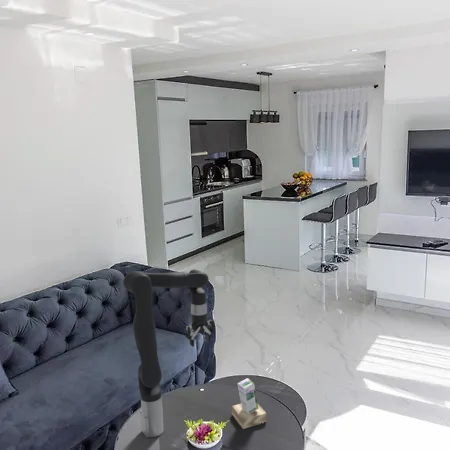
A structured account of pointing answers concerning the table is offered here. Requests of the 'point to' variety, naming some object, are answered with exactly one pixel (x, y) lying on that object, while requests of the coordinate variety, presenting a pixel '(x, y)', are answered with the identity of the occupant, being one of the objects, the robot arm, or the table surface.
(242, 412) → the birch block
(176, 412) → the table surface
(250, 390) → the syrup box
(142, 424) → the robot arm
